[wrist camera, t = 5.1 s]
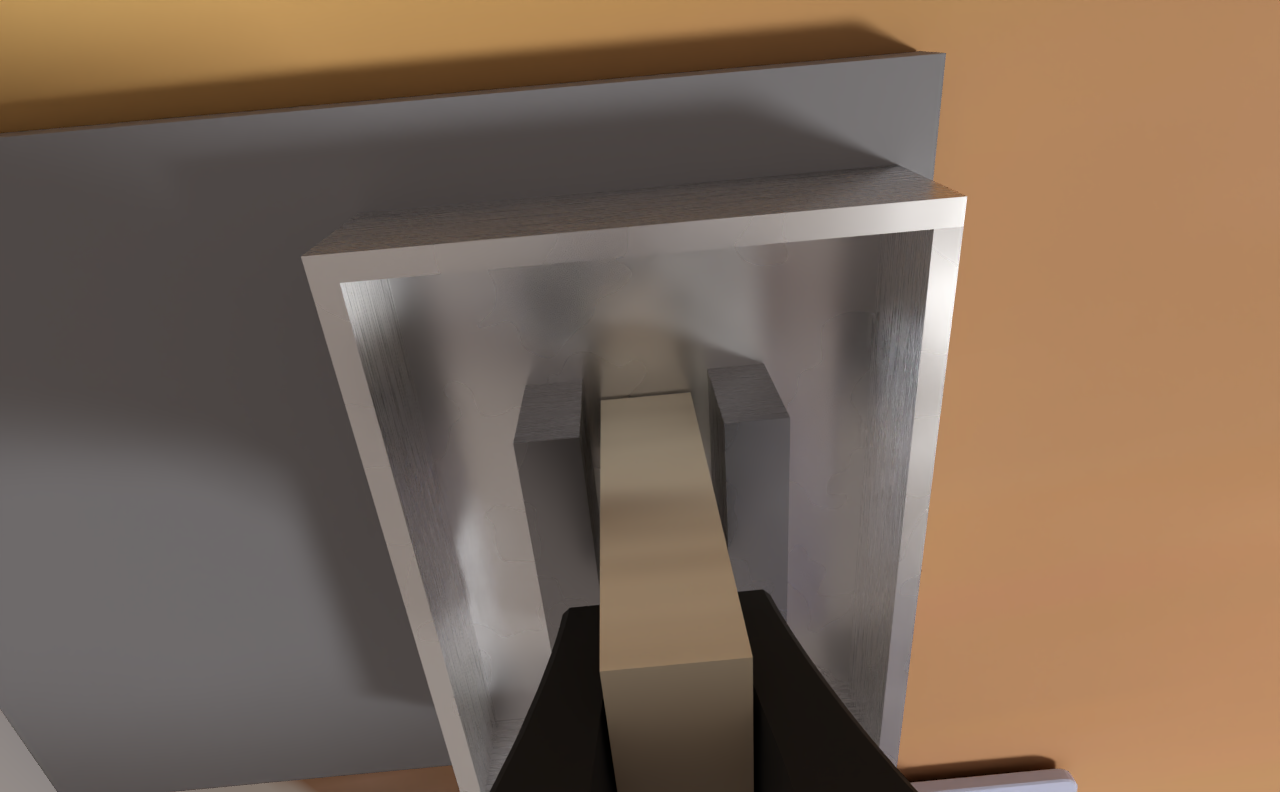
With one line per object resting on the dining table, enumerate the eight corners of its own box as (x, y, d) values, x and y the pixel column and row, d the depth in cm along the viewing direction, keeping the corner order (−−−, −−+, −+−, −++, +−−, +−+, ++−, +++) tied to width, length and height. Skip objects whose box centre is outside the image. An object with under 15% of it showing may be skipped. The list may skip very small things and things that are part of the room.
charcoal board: (864, 691, 19) (877, 724, 18) (89, 764, 19) (64, 802, 18) (920, 51, 12) (945, 53, 11) (-298, 159, 12) (-371, 170, 11)
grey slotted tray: (857, 680, 17) (895, 777, 15) (485, 715, 17) (467, 818, 15) (898, 164, 12) (967, 196, 10) (358, 213, 12) (300, 256, 10)
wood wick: (700, 585, 15) (755, 898, 10) (622, 592, 15) (634, 909, 10) (690, 392, 13) (752, 657, 8) (600, 400, 13) (599, 672, 8)
